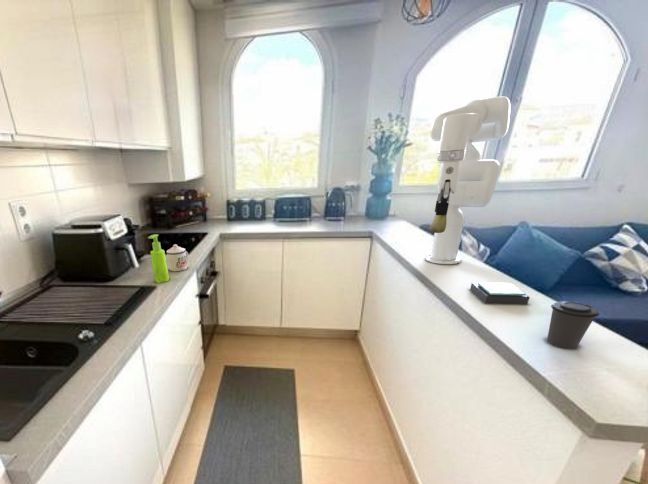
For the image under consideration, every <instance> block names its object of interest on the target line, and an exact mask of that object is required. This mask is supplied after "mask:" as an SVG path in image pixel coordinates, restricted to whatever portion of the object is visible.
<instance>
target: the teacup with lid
mask: <svg viewBox="0 0 648 484" xmlns="http://www.w3.org/2000/svg"><path fill="white" fill-rule="evenodd" d="M165 254H166V255H167V263H168V268H169V269H168V270H169V271H171V272H181V271H185V270H187V269H188V261H187V260H188V259H189V252H188V251H187V250H186V248H184V247H181V246H178V244H176V243H175V244H173V245H172V247H170V248H169V249H167V250H166V253H165Z"/></svg>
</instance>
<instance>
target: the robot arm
mask: <svg viewBox="0 0 648 484" xmlns="http://www.w3.org/2000/svg"><path fill="white" fill-rule="evenodd" d="M510 116H511V101H510V99H509V97H507V96H505V95H500V96H493V97H485V98H478V99H474V100H471V101H470V102H468V103H467V104H466V105H465V106H462V107H458V108H456V109H453V110H449V111H446V112H443V113H440V114H439V115H437V117H435V119H434V120H433V122H432V124H431V126H430V138H431V139H432V141H434V142H439V146H438V147H439V148H438V152H437V157H436V163H440V165H439V170H438V176H437V185H436V192H437V193H438V194H437V200H436V201H435V208H434V213H435V214H436V215H447V219H446V220H447V221H446V229H445V231H444V232H442V233H434V234H433V240H432V247H431V252H430V254H428V255H427V256H426V257H425V260H426V261H427V262H429V263H433V264H437V265H455V264H459V263H461V260H462V258H461V257H460V256H458V253H459V248H460V244H461V239H462V234H463V229H464V224H465V215H464V213H463V211H462V210H461V209H460V208H484V207H486V206H487V205H489V204H490V202H491V200H492V197H493V195H494V192H495V188H496V185H497V182H498V178H499V175H500V168H501V167H500V166H501V165H500V162H499V161H498V160H496V159H481V158H482V153H481V150H480V149H479V148H478V147H477V146H476V145H475V143H481V142H493V141H499V140H502V139H503V138H504V137H505V136H506V135H507V133H508V131H509V126H510ZM441 198H442V199H441ZM438 199H439V203H438ZM448 202H449V203H448Z"/></svg>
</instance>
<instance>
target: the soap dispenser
mask: <svg viewBox="0 0 648 484" xmlns="http://www.w3.org/2000/svg"><path fill="white" fill-rule="evenodd" d="M159 235H160V234H151V235H149V236H147V239H148V240H152V239H153V242H152V243H151V247H152V250H150V259H151V264H152V269H153V274H154V282H155V283H159V284H161V283H166V282H168V281H169V280H170V277H169V272H168V271H169V269H168V264H167V259H166V253H165V250H164V249H162V246H161V242H160V241H159V240H158V237H159Z"/></svg>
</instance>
